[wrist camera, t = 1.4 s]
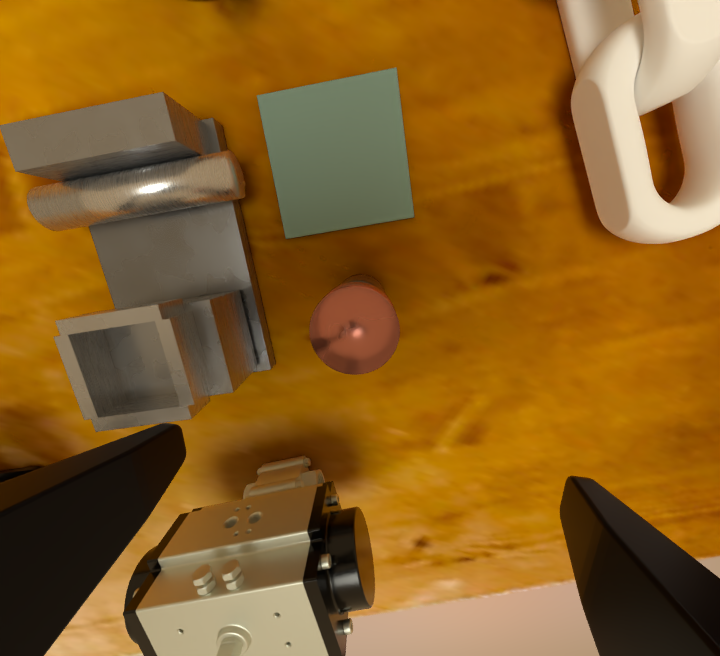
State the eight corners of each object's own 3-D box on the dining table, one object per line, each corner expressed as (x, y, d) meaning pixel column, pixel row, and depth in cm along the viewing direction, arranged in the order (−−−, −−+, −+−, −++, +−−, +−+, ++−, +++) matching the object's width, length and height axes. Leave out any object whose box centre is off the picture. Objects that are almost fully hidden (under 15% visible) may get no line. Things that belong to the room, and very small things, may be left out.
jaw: (258, 371, 22) (218, 415, 16) (147, 386, 23) (70, 435, 17) (238, 285, 21) (186, 299, 15) (121, 304, 21) (27, 325, 16)
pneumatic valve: (374, 488, 26) (377, 689, 14) (228, 517, 27) (116, 727, 15) (356, 422, 24) (342, 582, 13) (203, 455, 25) (61, 631, 14)
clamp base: (289, 361, 24) (267, 392, 18) (138, 383, 24) (77, 418, 19) (238, 122, 20) (194, 80, 15) (65, 155, 21) (-32, 126, 16)
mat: (287, 238, 22) (285, 238, 21) (259, 98, 20) (256, 95, 20) (413, 217, 21) (414, 216, 21) (395, 71, 19) (396, 67, 19)
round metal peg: (338, 329, 23) (318, 380, 14) (329, 275, 22) (301, 294, 13) (392, 321, 23) (405, 367, 14) (384, 267, 22) (393, 279, 13)
